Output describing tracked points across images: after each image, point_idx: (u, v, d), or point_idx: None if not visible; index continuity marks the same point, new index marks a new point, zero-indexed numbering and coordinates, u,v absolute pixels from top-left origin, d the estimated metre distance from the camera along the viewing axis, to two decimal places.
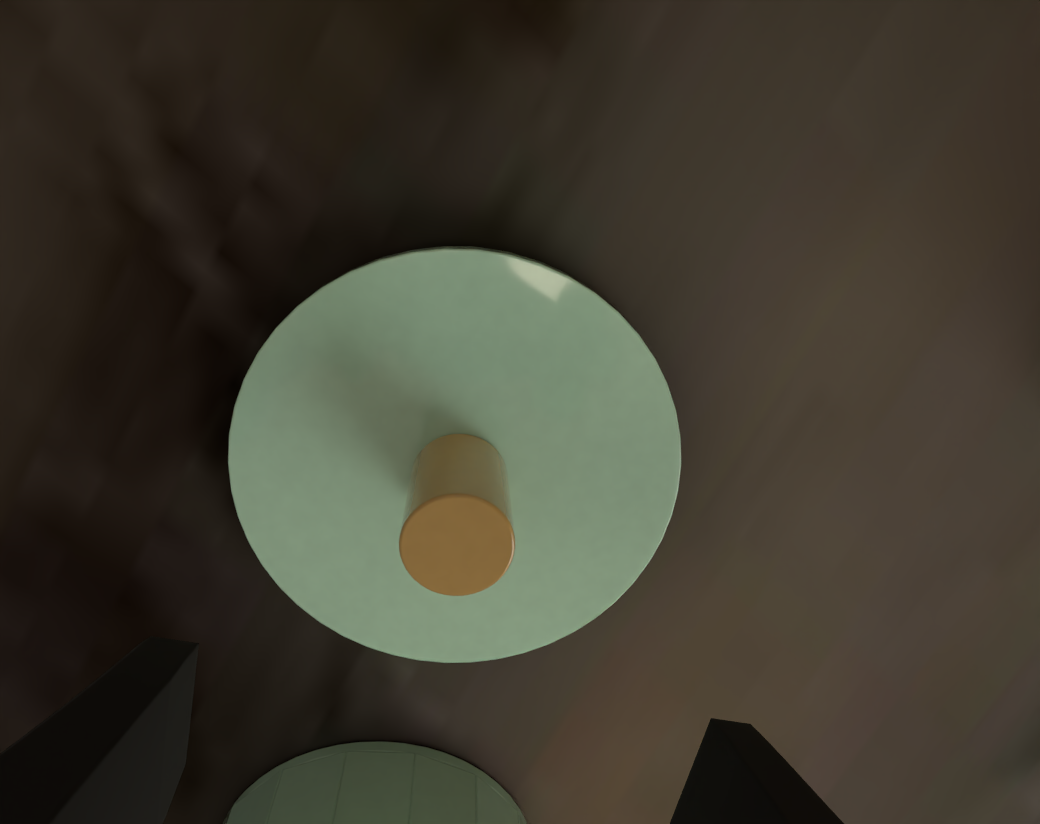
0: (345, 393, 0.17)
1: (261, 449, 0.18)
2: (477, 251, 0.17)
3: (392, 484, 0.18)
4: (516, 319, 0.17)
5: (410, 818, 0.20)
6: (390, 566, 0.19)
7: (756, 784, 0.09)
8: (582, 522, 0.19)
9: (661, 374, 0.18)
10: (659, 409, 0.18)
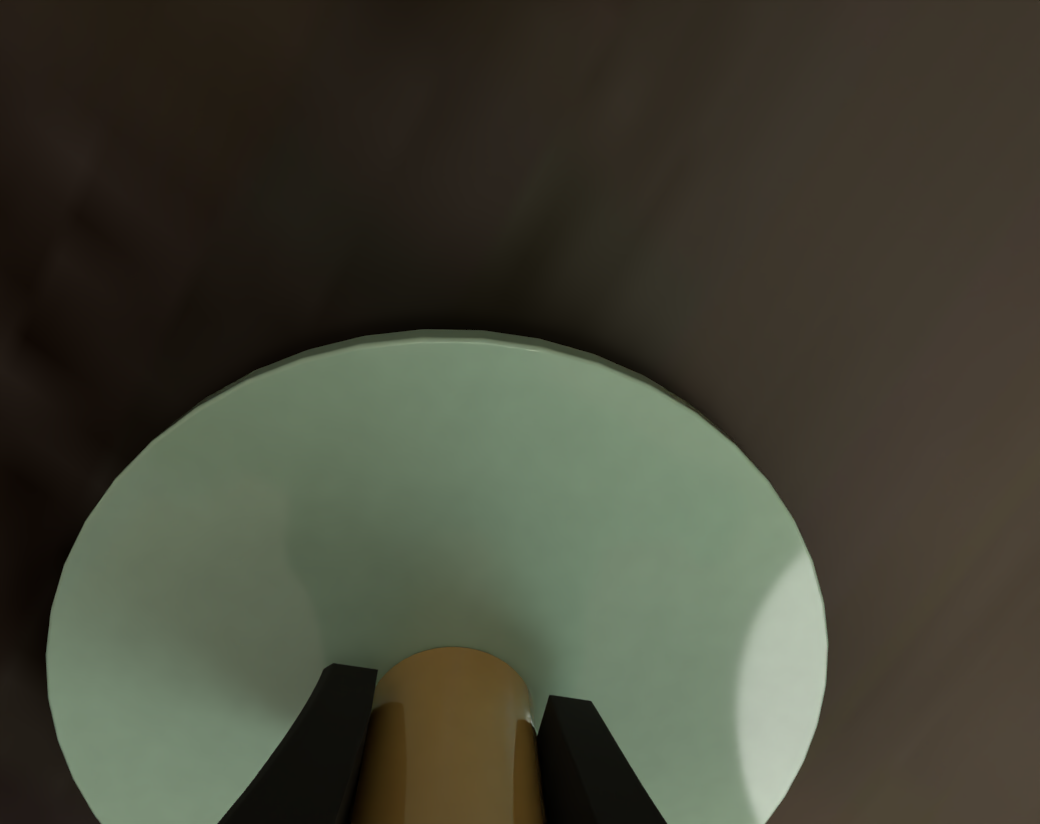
0: (247, 585, 0.10)
1: (105, 676, 0.10)
2: (481, 341, 0.09)
3: None
4: (553, 459, 0.10)
5: None
6: None
7: (571, 759, 0.09)
8: (656, 774, 0.11)
9: (803, 546, 0.10)
10: (796, 600, 0.11)
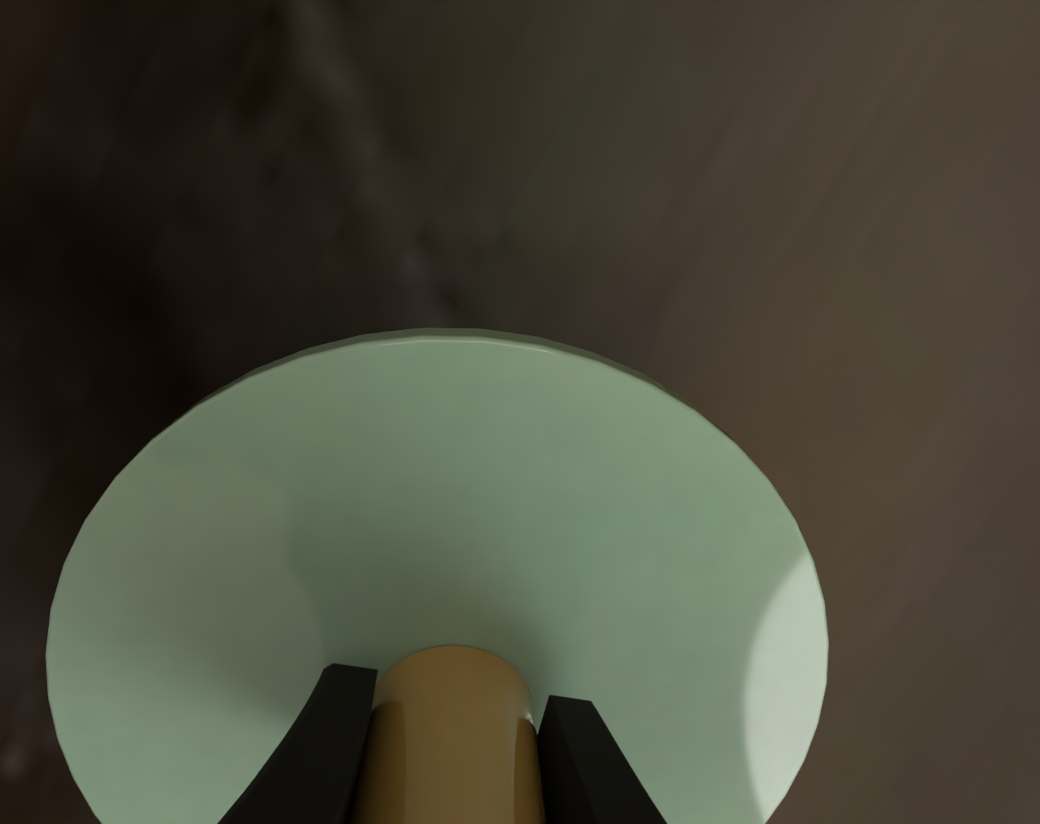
0: (248, 584, 0.10)
1: (106, 675, 0.10)
2: (481, 339, 0.09)
3: None
4: (553, 457, 0.10)
5: None
6: None
7: (571, 759, 0.09)
8: (657, 773, 0.11)
9: (804, 544, 0.10)
10: (797, 599, 0.10)
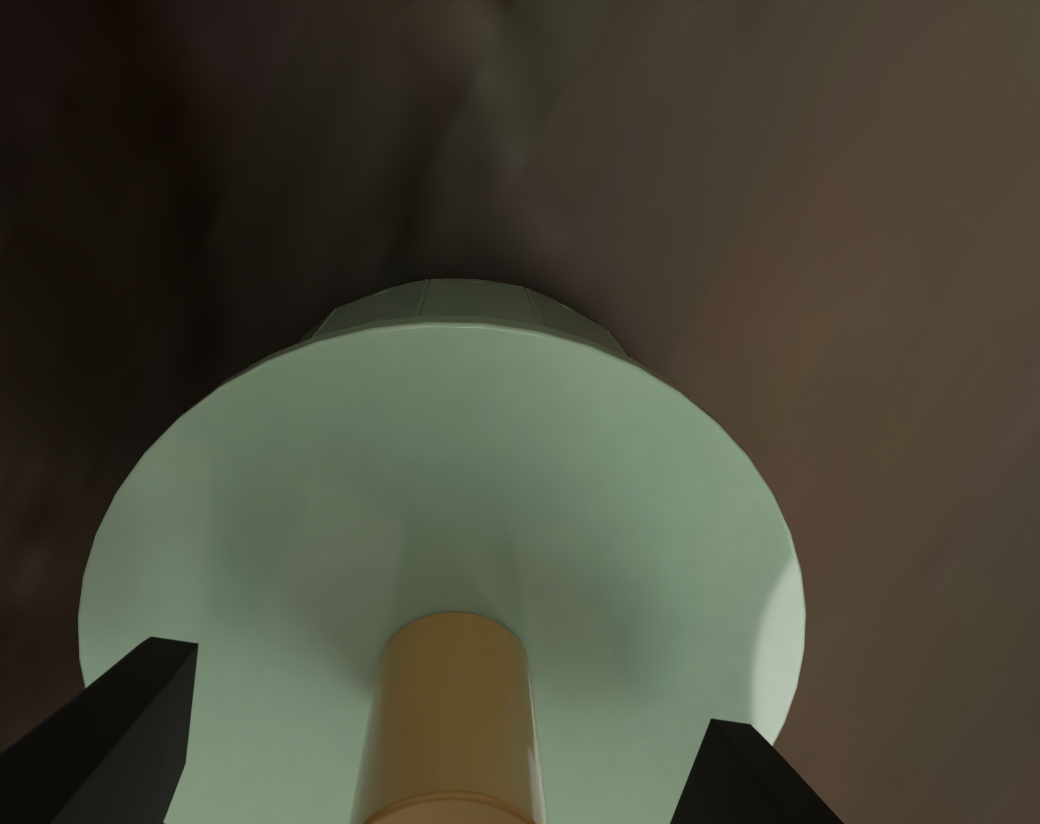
0: (265, 553, 0.11)
1: (133, 638, 0.11)
2: (482, 325, 0.10)
3: (347, 686, 0.12)
4: (548, 435, 0.10)
5: (535, 311, 0.13)
6: (347, 801, 0.12)
7: (756, 784, 0.09)
8: (646, 734, 0.12)
9: (781, 518, 0.11)
10: (776, 570, 0.11)
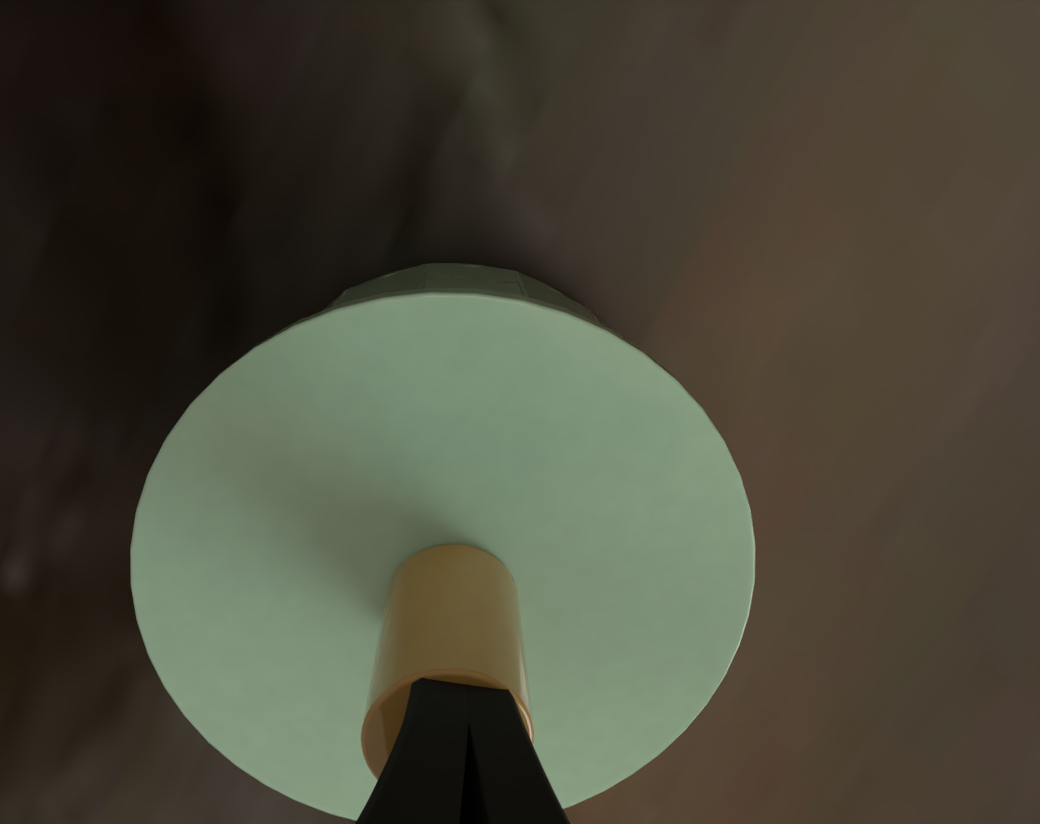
0: (291, 492, 0.12)
1: (177, 567, 0.13)
2: (475, 295, 0.12)
3: (360, 610, 0.13)
4: (532, 390, 0.12)
5: (523, 289, 0.15)
6: (359, 714, 0.14)
7: (474, 746, 0.09)
8: (619, 655, 0.14)
9: (732, 462, 0.13)
10: (728, 508, 0.13)
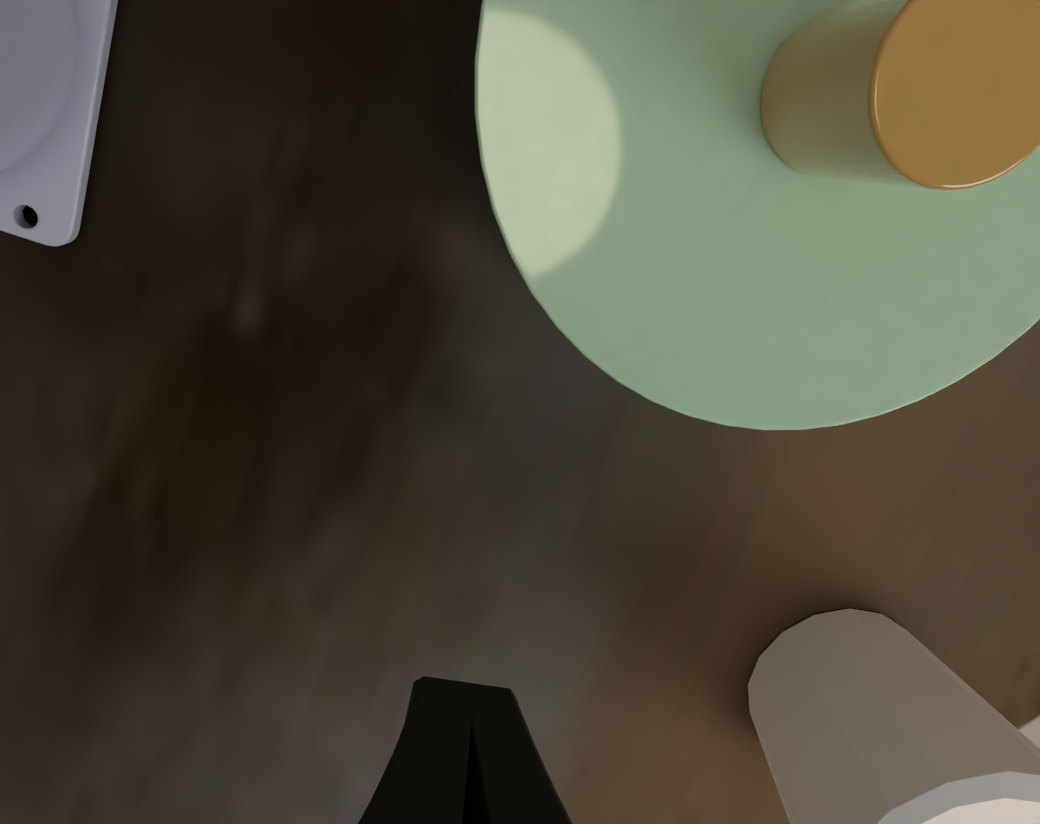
0: None
1: (527, 80, 0.11)
2: None
3: (730, 122, 0.12)
4: None
5: None
6: (725, 272, 0.12)
7: (476, 746, 0.09)
8: None
9: None
10: None
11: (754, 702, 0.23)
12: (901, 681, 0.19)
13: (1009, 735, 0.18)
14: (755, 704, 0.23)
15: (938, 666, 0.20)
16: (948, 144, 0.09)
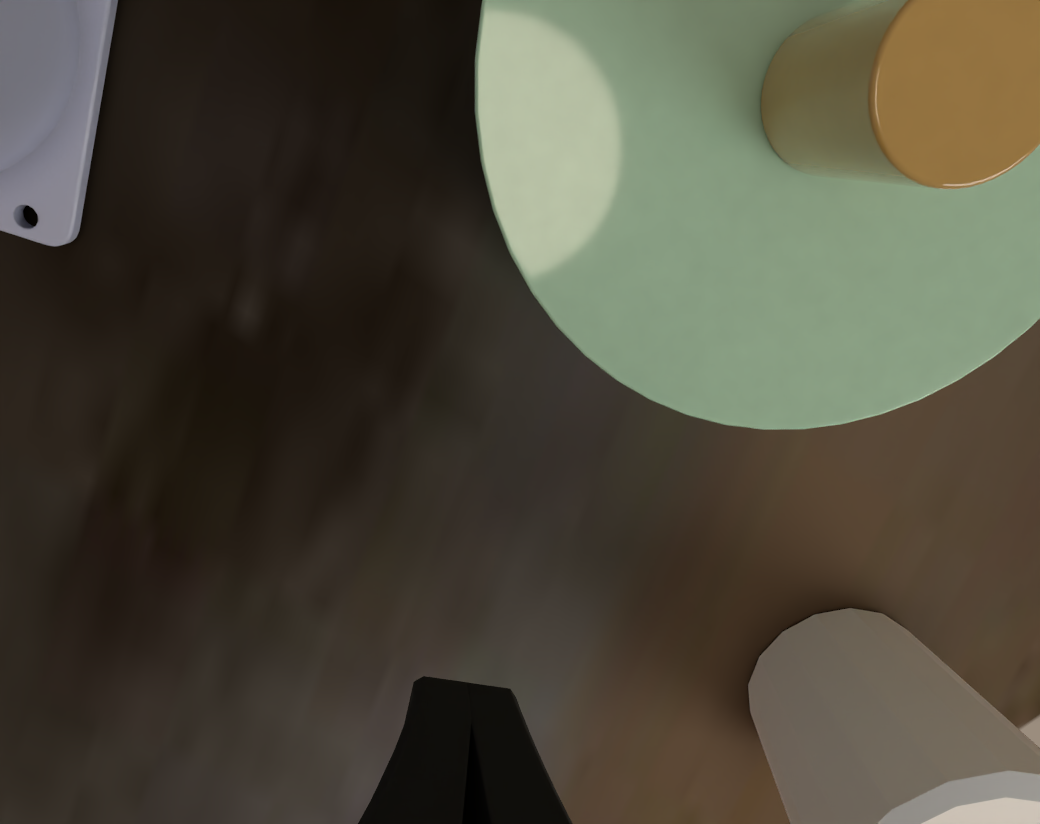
0: None
1: (527, 79, 0.11)
2: None
3: (730, 121, 0.12)
4: None
5: None
6: (725, 271, 0.12)
7: (476, 746, 0.09)
8: None
9: None
10: None
11: (754, 702, 0.23)
12: (901, 681, 0.19)
13: (1009, 734, 0.18)
14: (755, 704, 0.23)
15: (938, 666, 0.20)
16: (949, 143, 0.09)
